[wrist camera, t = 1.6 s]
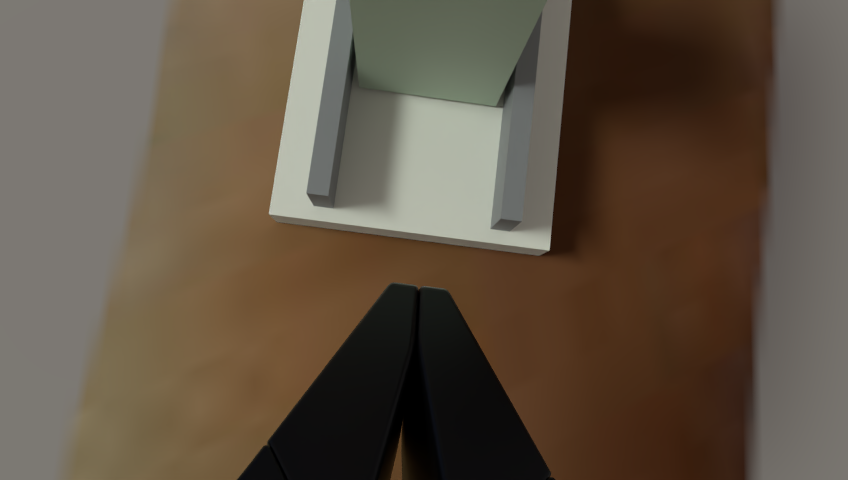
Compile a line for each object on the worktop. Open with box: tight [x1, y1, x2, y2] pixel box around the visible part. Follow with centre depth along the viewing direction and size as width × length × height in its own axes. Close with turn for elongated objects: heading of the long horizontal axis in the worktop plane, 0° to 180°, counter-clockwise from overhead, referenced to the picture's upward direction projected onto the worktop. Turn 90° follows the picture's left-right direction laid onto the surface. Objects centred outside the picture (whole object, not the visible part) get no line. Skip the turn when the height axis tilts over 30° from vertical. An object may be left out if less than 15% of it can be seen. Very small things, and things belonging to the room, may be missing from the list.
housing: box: [269, 0, 572, 256], centre depth 21 cm, size 16×10×6 cm, turn 173°
